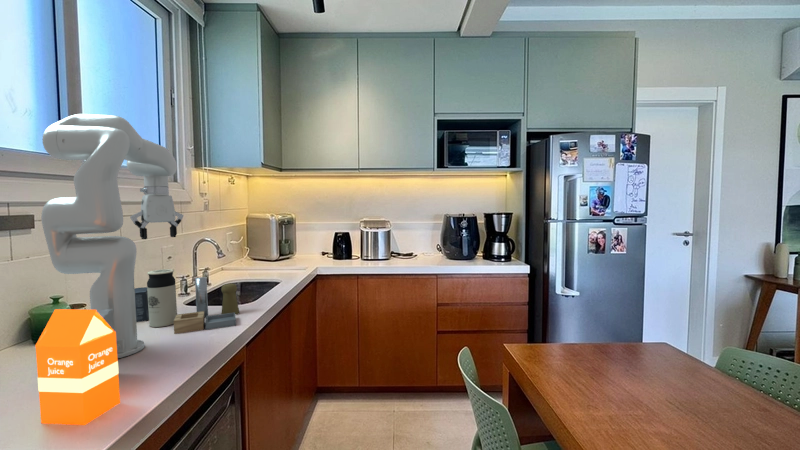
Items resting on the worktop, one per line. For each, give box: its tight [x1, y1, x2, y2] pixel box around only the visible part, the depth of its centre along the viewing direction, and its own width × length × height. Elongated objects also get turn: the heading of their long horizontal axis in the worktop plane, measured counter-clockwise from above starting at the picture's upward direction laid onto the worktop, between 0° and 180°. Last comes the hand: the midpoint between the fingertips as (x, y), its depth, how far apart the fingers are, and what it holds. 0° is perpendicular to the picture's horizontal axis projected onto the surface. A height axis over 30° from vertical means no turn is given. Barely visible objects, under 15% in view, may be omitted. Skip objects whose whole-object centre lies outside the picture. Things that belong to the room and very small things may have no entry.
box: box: [134, 286, 149, 323], centre depth 130 cm, size 8×6×11 cm
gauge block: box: [173, 311, 206, 335], centre depth 119 cm, size 8×8×4 cm
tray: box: [204, 313, 237, 331], centre depth 123 cm, size 9×9×2 cm
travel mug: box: [146, 268, 178, 328], centre depth 124 cm, size 8×8×18 cm
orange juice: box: [34, 308, 121, 426], centre depth 70 cm, size 8×9×20 cm
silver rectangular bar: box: [194, 276, 209, 319], centre depth 131 cm, size 4×4×14 cm
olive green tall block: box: [220, 283, 240, 315], centre depth 134 cm, size 6×6×11 cm
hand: (159, 238), depth 136 cm, fingers open, 9 cm apart
